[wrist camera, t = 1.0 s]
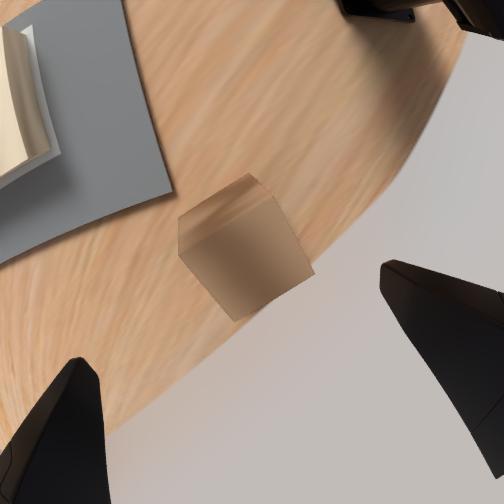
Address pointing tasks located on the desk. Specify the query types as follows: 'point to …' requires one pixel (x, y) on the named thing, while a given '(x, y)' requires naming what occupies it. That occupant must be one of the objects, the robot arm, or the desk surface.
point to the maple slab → (18, 106)
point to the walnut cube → (242, 247)
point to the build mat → (81, 125)
